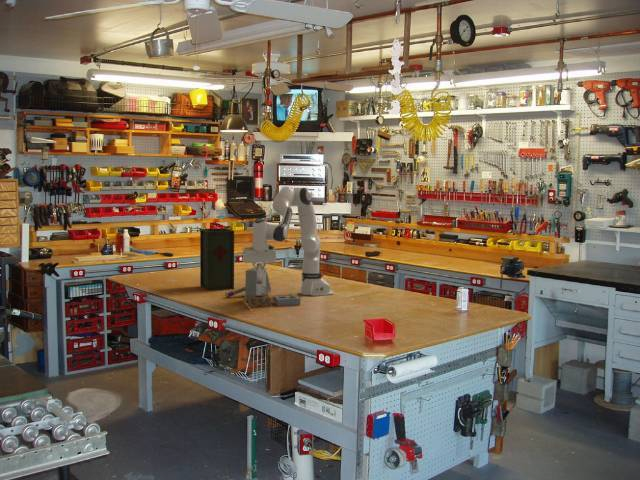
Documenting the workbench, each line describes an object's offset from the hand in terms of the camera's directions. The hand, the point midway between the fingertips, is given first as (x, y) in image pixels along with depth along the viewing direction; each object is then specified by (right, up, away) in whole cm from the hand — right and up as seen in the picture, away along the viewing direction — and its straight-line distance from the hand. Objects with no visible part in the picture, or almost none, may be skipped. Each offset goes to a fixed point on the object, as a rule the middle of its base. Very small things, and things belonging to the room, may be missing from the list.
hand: (259, 269), depth 387 cm
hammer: (-11, -19, +34) cm, 40 cm away
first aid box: (-35, -15, +61) cm, 72 cm away
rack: (0, -22, +2) cm, 22 cm away
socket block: (+16, -22, +7) cm, 28 cm away
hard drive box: (-4, -20, +20) cm, 29 cm away
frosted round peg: (0, -8, 0) cm, 8 cm away
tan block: (+20, -21, +8) cm, 30 cm away
